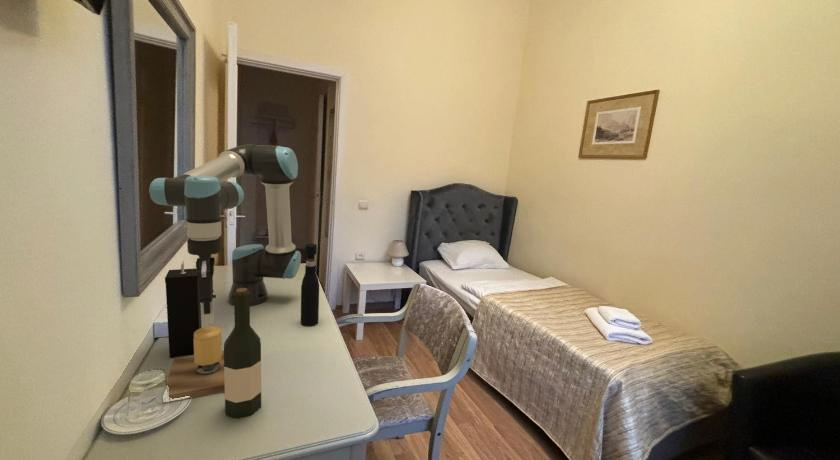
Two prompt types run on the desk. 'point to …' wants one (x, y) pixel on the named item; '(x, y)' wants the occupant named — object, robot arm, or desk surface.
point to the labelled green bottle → (242, 362)
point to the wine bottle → (310, 289)
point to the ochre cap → (207, 345)
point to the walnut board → (194, 379)
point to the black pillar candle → (182, 310)
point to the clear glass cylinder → (208, 368)
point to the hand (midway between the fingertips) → (208, 323)
